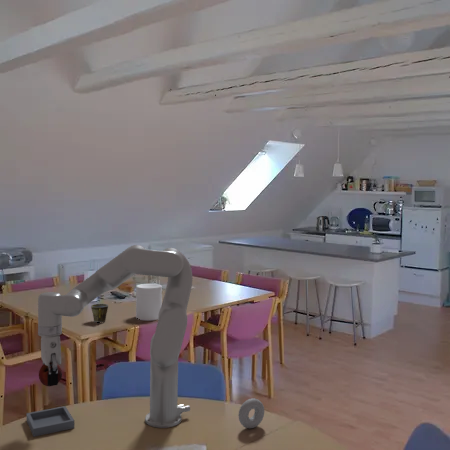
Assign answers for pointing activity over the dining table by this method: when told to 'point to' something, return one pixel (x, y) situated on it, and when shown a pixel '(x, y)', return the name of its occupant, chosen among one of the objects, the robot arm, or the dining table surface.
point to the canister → (148, 301)
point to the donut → (245, 410)
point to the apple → (44, 374)
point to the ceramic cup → (99, 312)
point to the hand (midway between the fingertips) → (50, 380)
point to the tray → (50, 421)
